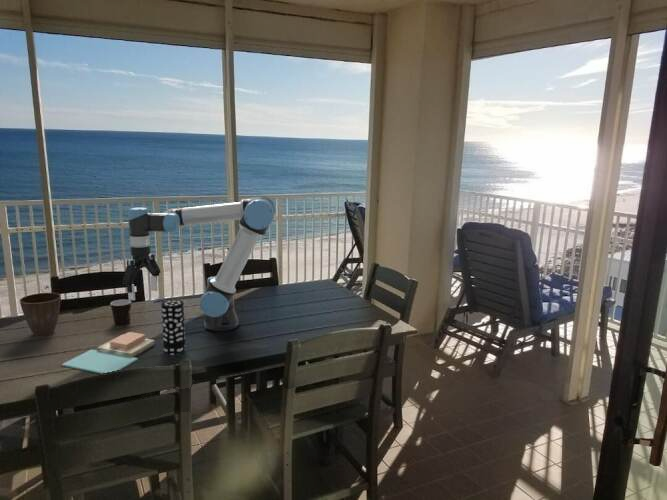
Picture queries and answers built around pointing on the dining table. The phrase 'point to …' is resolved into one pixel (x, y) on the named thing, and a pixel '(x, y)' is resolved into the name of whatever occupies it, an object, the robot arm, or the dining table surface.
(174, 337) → the white-spotted black cylinder
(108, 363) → the teal mat
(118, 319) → the coffee mug
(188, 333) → the dining table surface
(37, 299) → the plant pot
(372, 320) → the dining table surface
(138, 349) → the board
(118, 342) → the terracotta tile
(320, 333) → the dining table surface
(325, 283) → the dining table surface
